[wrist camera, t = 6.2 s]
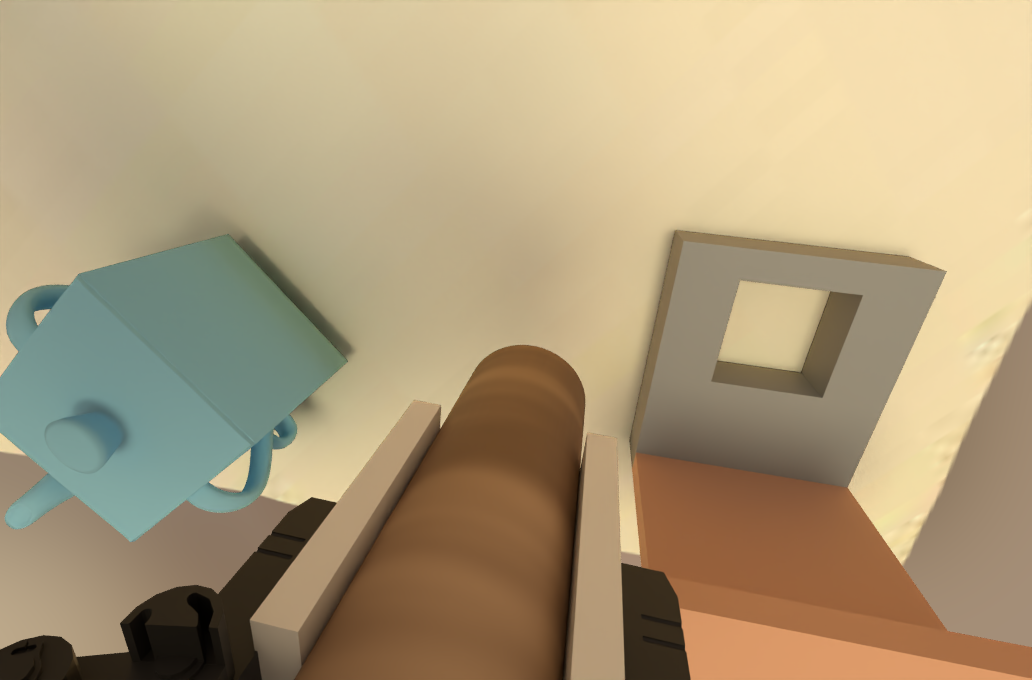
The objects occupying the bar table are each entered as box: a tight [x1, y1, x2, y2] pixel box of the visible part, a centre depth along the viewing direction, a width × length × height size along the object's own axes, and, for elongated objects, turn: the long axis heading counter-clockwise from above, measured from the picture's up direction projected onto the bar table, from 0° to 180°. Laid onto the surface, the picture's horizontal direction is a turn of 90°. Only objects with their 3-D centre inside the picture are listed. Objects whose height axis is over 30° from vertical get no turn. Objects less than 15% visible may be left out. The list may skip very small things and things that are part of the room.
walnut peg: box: [294, 345, 585, 680], centre depth 10 cm, size 4×4×13 cm
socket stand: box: [630, 230, 1032, 680], centre depth 22 cm, size 15×13×16 cm
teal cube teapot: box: [0, 234, 348, 542], centre depth 29 cm, size 18×16×13 cm
